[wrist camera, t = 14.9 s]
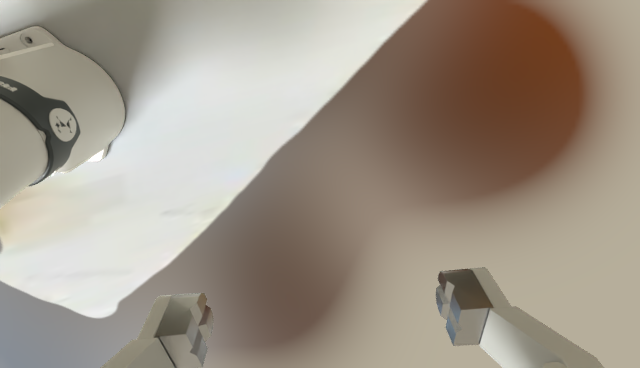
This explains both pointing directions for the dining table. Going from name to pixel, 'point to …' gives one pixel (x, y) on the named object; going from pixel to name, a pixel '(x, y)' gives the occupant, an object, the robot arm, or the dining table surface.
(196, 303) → the robot arm
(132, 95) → the dining table surface
